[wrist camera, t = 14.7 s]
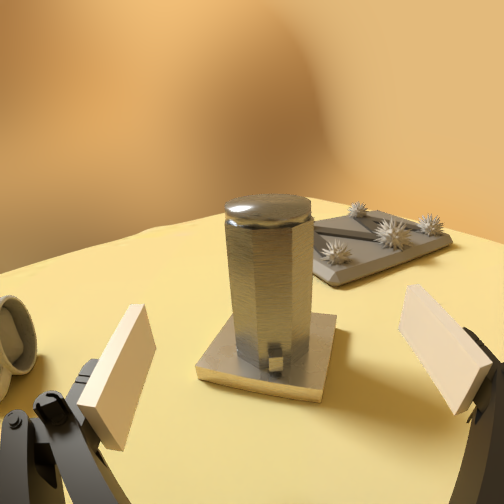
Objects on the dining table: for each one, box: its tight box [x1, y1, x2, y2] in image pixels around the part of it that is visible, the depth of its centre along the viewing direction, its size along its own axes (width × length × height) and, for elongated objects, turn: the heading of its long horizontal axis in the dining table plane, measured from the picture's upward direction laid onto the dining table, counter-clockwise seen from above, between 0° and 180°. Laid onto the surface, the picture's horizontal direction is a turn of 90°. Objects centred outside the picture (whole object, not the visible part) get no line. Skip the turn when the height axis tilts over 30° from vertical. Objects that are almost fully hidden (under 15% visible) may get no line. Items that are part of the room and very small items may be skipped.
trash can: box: [225, 194, 314, 372], centre depth 23 cm, size 8×6×12 cm
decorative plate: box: [313, 203, 453, 287], centre depth 49 cm, size 30×22×7 cm
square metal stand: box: [195, 313, 337, 403], centre depth 24 cm, size 10×10×10 cm
